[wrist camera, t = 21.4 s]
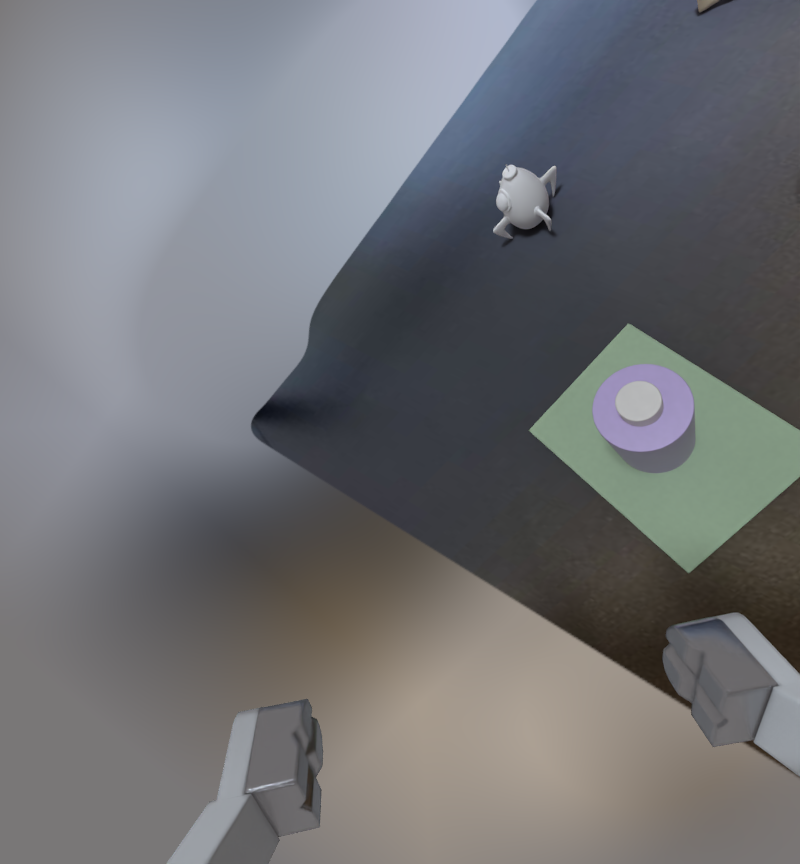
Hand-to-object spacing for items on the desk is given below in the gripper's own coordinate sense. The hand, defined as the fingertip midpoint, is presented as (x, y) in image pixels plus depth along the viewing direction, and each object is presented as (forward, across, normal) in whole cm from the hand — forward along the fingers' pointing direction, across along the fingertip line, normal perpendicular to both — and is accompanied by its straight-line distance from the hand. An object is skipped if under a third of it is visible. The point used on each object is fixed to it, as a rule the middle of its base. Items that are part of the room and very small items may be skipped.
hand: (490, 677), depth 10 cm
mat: (+23, -19, +11) cm, 32 cm away
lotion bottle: (+23, -19, +10) cm, 31 cm away
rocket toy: (+42, -17, -4) cm, 46 cm away
